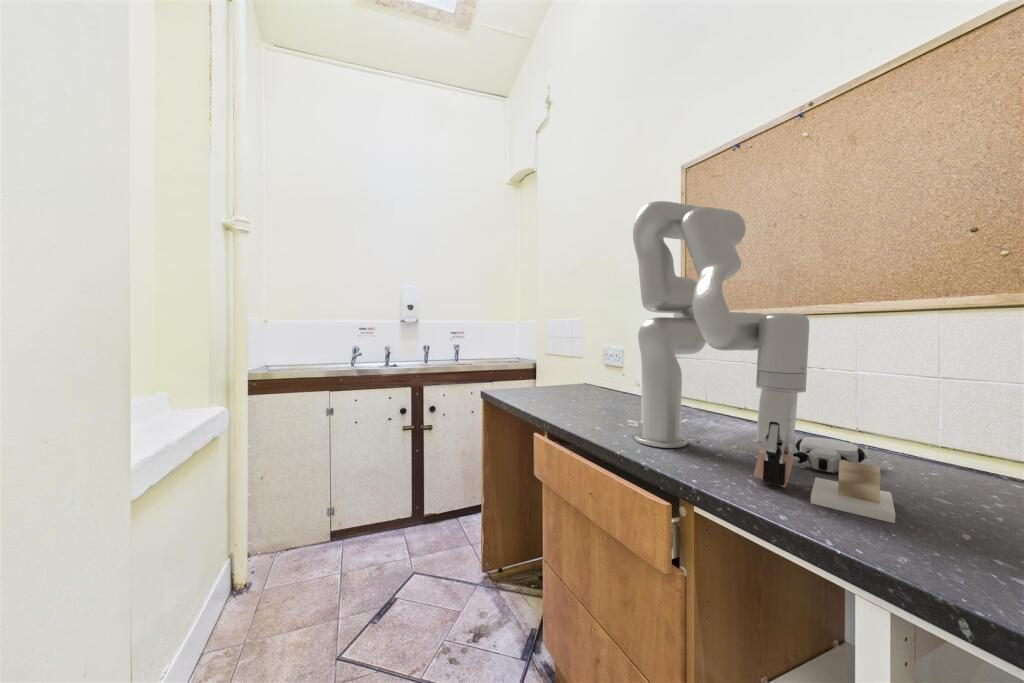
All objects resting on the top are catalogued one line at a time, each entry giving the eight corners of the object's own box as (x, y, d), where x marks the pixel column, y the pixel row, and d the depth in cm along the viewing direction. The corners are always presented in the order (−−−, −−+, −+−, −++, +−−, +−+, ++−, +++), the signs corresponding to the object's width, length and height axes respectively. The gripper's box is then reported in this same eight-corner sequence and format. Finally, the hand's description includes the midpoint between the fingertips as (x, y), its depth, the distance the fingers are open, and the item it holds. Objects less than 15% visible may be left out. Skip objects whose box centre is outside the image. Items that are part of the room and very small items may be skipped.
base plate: (810, 503, 65) (810, 494, 65) (815, 485, 72) (815, 477, 72) (895, 523, 58) (895, 513, 58) (890, 501, 66) (891, 492, 66)
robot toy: (863, 488, 73) (867, 463, 84) (864, 465, 73) (868, 442, 84) (784, 471, 82) (797, 450, 93) (785, 450, 82) (797, 432, 92)
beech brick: (838, 494, 65) (839, 465, 65) (838, 487, 68) (839, 459, 68) (879, 503, 61) (880, 473, 61) (878, 495, 64) (879, 466, 64)
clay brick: (753, 475, 73) (759, 451, 72) (757, 469, 76) (762, 446, 75) (785, 487, 70) (791, 462, 69) (788, 480, 73) (794, 456, 72)
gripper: (764, 374, 80) (760, 462, 81) (747, 383, 68) (742, 487, 69) (810, 378, 75) (805, 472, 76) (801, 389, 63) (795, 501, 64)
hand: (775, 478), depth 72 cm, fingers closed on clay brick, 4 cm apart
